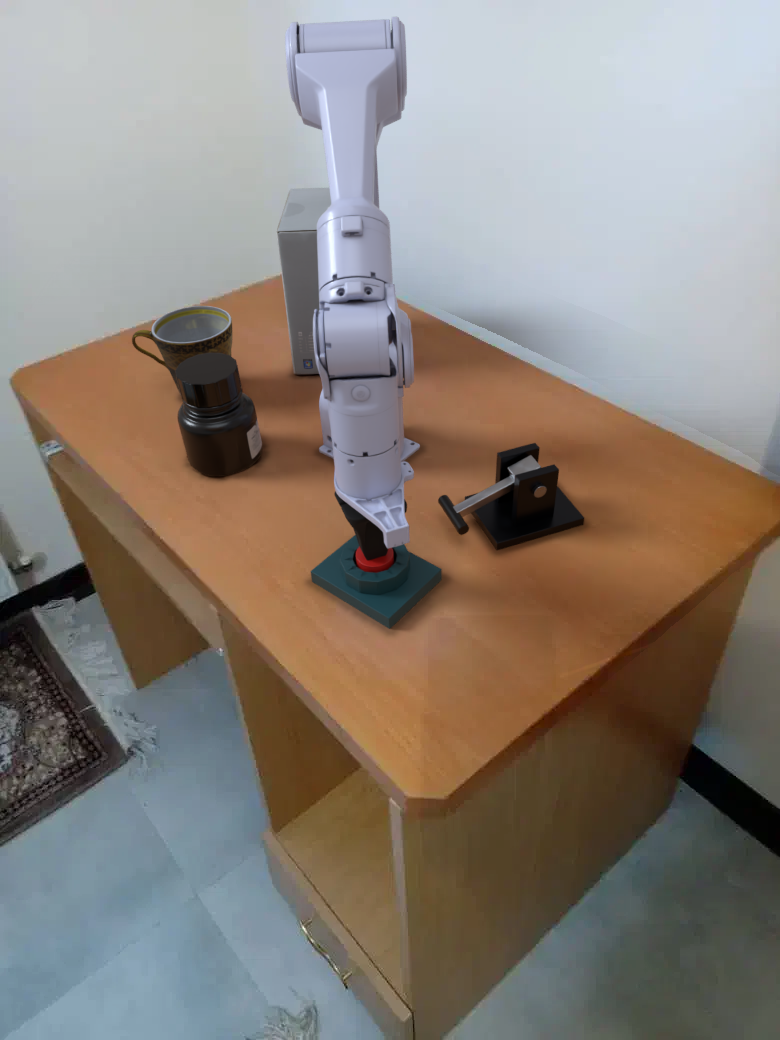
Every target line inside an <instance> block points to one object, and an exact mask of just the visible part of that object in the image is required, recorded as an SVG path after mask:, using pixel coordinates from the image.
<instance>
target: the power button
mask: <svg viewBox="0 0 780 1040" xmlns="http://www.w3.org/2000/svg"><path fill="white" fill-rule="evenodd" d="M356 563H357V567H358V568H359V569H361V570H363V571H365V572H373V573H378V572H381V571H385V570H388V569H389V568H390V567H391V566H392V565H393V564H394V555H393V549H392V548H389V549H388V552H387V555H386V556H382V557H379V558H375V559H372V560H366V558H365V556H364V554H363V552H362V550H361V548H360V546H359V548H358V549H357V551H356Z"/></svg>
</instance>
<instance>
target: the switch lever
mask: <svg viewBox="0 0 780 1040" xmlns="http://www.w3.org/2000/svg"><path fill="white" fill-rule="evenodd" d="M539 468H542V466H541V465H540V463H539V462H538V463H537V461H536V460H535V459H534V458H533V457H532V456H531V455H530V456H528V457H526V458H524V459H522V460H520V461H519V462H517V463H515V464H513V465H511V466H509V467H508V468H507V469H508V472H509V475H510V476H509V477H507V478H505V479H503V480H502V481H500V482H498V483H496V484H495V483H494V484H492V485H490V486H489V487H487V488H485V489H483V490H480V491H479V492H477V494H476V493H475V494H476V495H474V496H472V497H470V498H468V499H466V500H465V499H464V500H463V501H460V502H459V503H457V504H454V503H453V501H452V500H451V498H450V496H449V495H448V494H442V495H440V496H439V497H438V499H437V502H438V504H439V506H440V508H441V510H442V511H443V512H444V514H445V515H446V517H447V518H448V520H449V521H450V523H451V524H452V526H453V528H454V529H455V531H456V532H457V533H458V534H459V535H460V536H462V535H466V534H467V533H468V532H469V530H470V527H469V525H468V523H467V522H466V521H465V519H464V517H466V516H468V515H469V514H471V512H473V511H475V510H477V509H479V508H481V507H482V506H484V505H486V504H488V503H490V502H492V501H494V500H495V499H497V498H499V497H501V496H503V495H505V494H507V493H508V492H510V491H512V490H514V481H515V475H517V474H520V473H524V472H528V471H531V470H535V469H539Z"/></svg>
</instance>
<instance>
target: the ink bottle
mask: <svg viewBox="0 0 780 1040" xmlns="http://www.w3.org/2000/svg"><path fill="white" fill-rule="evenodd" d="M175 373H176V378H177V382H178V386H179V390H180V393H179V395H180V394H181V395H180V397H181V400H182V404H181V405H180V406H179V409H178V411H177V416H176V417H177V424H178V427H179V431H180V435H181V439H182V442H183V446H184V450H185V453H186V458H187V460H188V463H189V465H190V466H191V467H192V469H194V470H195V471H196V472H198V473H200V474H202V475H205V476H210V477H226V476H231V475H234V474H237V473H240V472H242V471H245V470H248V469H249V468H250V467H252V466H253V465H254V464H256V463H257V462H258V461H259V459H260V458H261V456H262V454H263V442H262V441H263V440H262V437H261V431H260V425H259V421H258V414H257V410H256V406H255V404H254V401H253V400H252V398H251V397H250V396H249V395H248V394H246V393H245V392H243V386H242V382H241V381H242V380H241V377H240V371H239V366H238V362H237V359H235V358H234V357H233V356H232V355H231V356H230V355H226V354H222V353H205V354H198V355H195V356H193V357H190V358H187V359H186V360H185V361H183V362H182V363H180V364H179V365H178V367H177V369H176V370H175Z"/></svg>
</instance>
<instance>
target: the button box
mask: <svg viewBox="0 0 780 1040" xmlns="http://www.w3.org/2000/svg"><path fill="white" fill-rule="evenodd" d="M358 548H359V544H358V541H357V538H356V535H355V534H354V535H352V537H350V538H349V539H348V540H347V541H346V542H344V543H343V544H342V545H341V546H340V547H338V548H337V549H336V550H334V552H332V553H331V554H330V555H328V556H327V557H326V558H325V559H324V560H322V561H321V562H320V563H318V564H317V565H316V566H314V568H312V569H311V570H310V578H311V583H313V584H315V585H317V586H318V587H320V588H322V589H323V590H324V591H326V592H328V593H329V594H331V595H333V596H335V597H336V598H338V599H340V600H341V601H343V602H344V603H346V604H347V605H349V606H351V607H353V608H354V609H355V610H357V611H359V612H361V613H362V614H364V615H366V616H367V617H369V618H371V619H372V620H374V621H376V622H377V623H379V624H380V625H382V626H383V627H385V628H387V629H388V630H391V629H392V628H393V627H394V626H395V625H396V624H397V623H398V622H399V621H400V620H401V619H402V618H404V616H405V615H407V613H409V611H410V610H412V609H413V608H414V607H415V606H416V605H417V604H418V603H419V602H420V601H421V600H422V599H423V598H424V597H425V596H426V595H427V594H429V592H431V591H432V590H433V589H434V588H435V587H436V586H437V585H438V584H439V583H440V582H441V581H442V579H443V577H442V576H443V572H442V571H443V570H442V568H441V567H439V566H437V565H435V564H433V563H431V562H429V561H428V560H426V559H424V558H422V557H421V556H418V555H416V554H414V553H413V552H411V551H409V550H408V548H407V547H406V545H405V544H403V545H400V546H397V547H392V549H393V555H394V564H393V565H392V566H391V567H390V568H389V569H388V570H385V571H381V572H378V573H373V572H365V571H363V570H361V569H359V568H358V567H357V563H356V551H357V549H358Z"/></svg>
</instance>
